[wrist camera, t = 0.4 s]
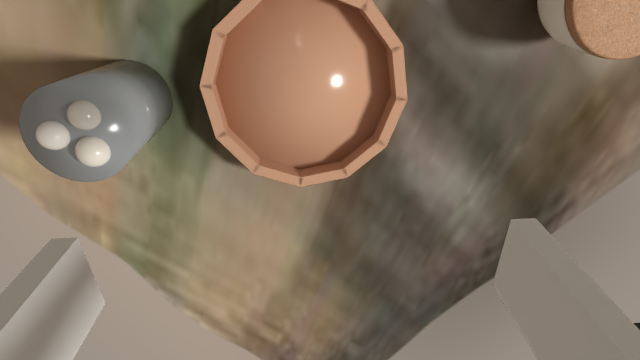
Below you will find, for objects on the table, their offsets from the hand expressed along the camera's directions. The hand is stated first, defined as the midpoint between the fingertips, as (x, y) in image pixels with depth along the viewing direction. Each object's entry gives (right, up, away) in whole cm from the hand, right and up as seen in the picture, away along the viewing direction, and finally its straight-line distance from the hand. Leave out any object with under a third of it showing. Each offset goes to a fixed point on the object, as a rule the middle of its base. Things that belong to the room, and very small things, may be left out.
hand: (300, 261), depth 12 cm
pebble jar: (-17, +10, +24) cm, 31 cm away
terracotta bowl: (-1, +12, +25) cm, 27 cm away
